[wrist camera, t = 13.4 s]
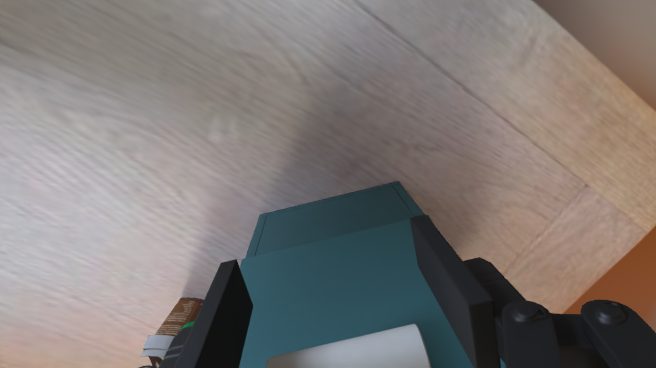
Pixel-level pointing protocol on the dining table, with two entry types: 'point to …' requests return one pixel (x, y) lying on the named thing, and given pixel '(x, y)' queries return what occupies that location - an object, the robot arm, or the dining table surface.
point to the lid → (347, 306)
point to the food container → (171, 329)
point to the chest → (332, 218)
